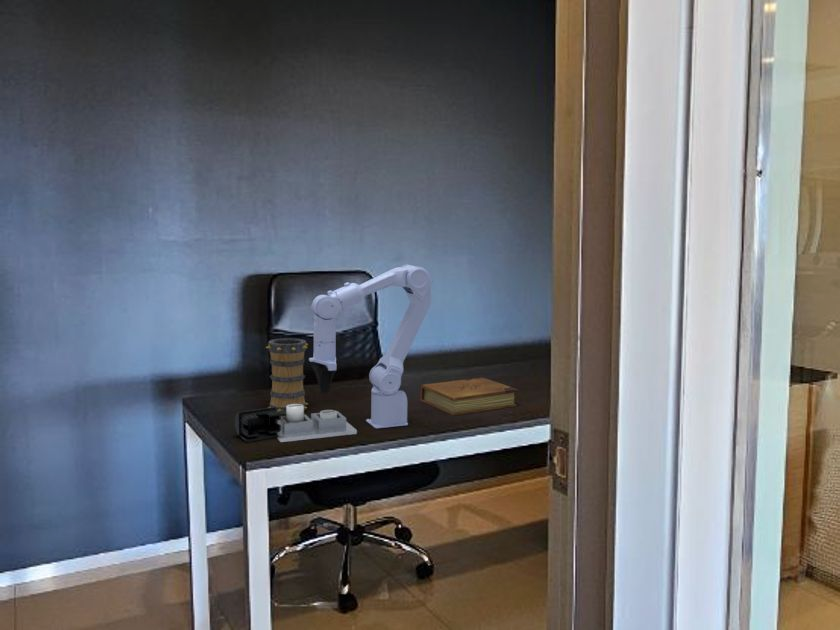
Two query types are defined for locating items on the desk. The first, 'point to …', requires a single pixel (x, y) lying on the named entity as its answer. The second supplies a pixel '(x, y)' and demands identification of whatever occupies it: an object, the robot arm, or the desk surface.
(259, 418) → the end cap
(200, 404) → the desk surface
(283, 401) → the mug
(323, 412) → the knob
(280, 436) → the mount
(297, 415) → the knob
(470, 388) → the diary
